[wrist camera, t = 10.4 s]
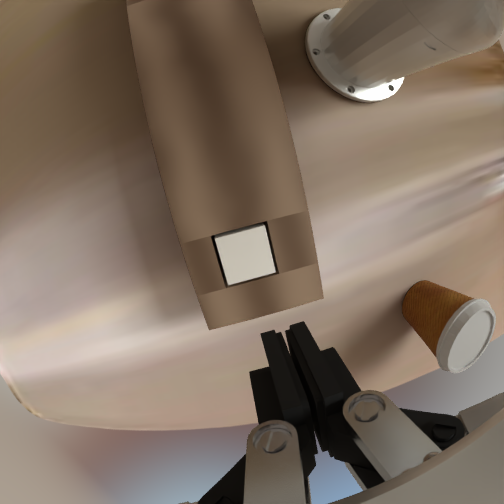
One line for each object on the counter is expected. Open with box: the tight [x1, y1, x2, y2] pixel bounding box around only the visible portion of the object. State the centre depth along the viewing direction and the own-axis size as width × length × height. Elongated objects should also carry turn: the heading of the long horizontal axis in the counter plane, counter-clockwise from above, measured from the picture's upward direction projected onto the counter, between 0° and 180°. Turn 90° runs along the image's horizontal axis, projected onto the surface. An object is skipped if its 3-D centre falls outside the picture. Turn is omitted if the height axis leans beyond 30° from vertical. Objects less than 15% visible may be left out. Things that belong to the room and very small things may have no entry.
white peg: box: [215, 222, 276, 285], centre depth 27 cm, size 4×4×6 cm
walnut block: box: [126, 0, 324, 330], centre depth 23 cm, size 11×40×6 cm, turn 14°
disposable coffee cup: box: [402, 280, 496, 373], centre depth 30 cm, size 10×10×12 cm
